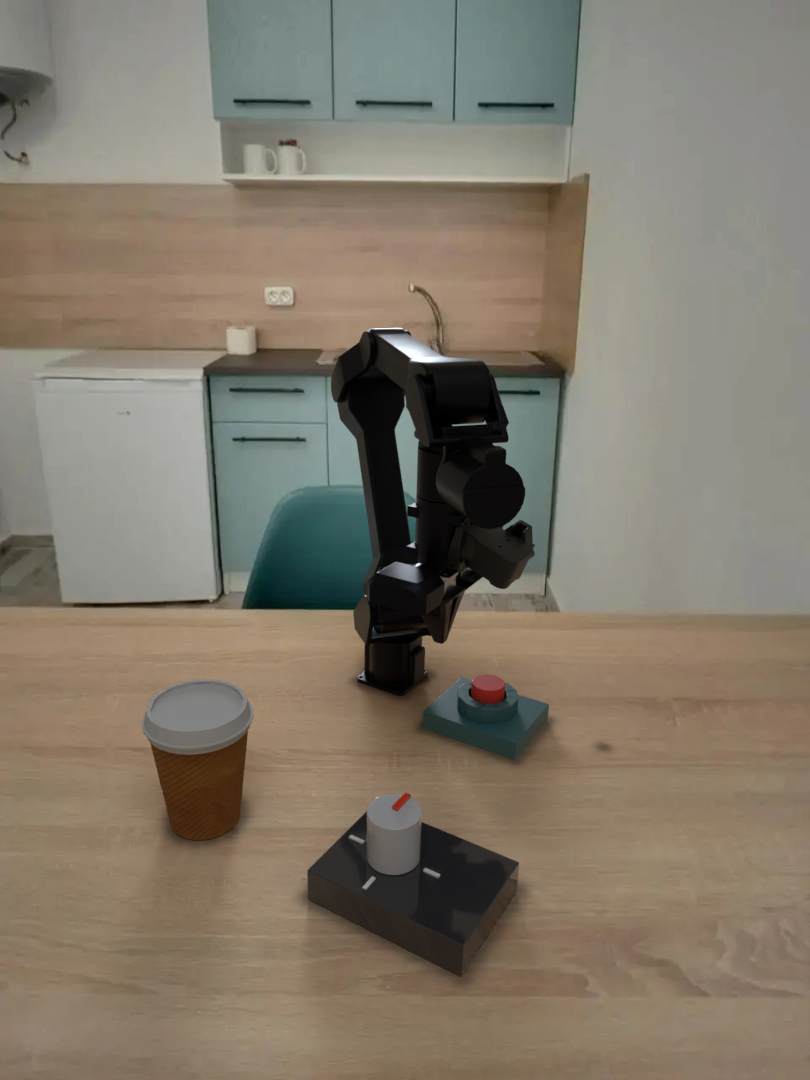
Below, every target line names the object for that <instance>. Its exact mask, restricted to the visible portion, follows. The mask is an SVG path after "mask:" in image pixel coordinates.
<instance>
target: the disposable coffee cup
mask: <svg viewBox="0 0 810 1080" xmlns="http://www.w3.org/2000/svg"><path fill="white" fill-rule="evenodd" d="M253 719H254V708H253V705H252V703H251V702H250V701H249V700H248V697H247V693H246V692H245V691H244V690H243V689H242V688H241V687H239V686H238V685H236V684H234V683H232V682H230V681H225V680H221V679H213V678H201V679H192V680H185V681H182V682H178V683H176V684H173V685H170V686H168V687H165V688H163V689H162V690H160V691H159V692H157V693H155V694H154V695H152V697H151V698H150V699H149V701H148V703H147V705H146V709H145V712H144V714H143V715H142V719H141V729H142V733H143V735H144V736H145V737H146V739H147V741H148V742H149V744H150V748H151V751H152V756H153V760H154V764H155V768H156V772H157V776H158V780H159V784H160V789H161V791H162V797H163V800H164V804H165V808H166V812H167V816H168V820H169V823H170V828H171V829H172V831H173V832H174V833H175V834H176V835H177V836H179V837H181V838H184V839H186V840H191V841H203V840H205V841H206V840H211V839H215V838H217V837H221V836H222V835H224V834H226V833H228V832H230V831H231V830H233V828H234V827H235V826H236V825H237V824H238V823H239V820H240V817H241V809H242V799H243V787H244V779H245V777H244V776H245V767H246V766H245V765H246V756H247V745H248V734H249V729H250V727H251V724H252V722H253Z"/></svg>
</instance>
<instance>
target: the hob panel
mask: <svg viewBox="0 0 810 1080" xmlns="http://www.w3.org/2000/svg"><path fill="white" fill-rule="evenodd" d="M366 847H367V810H366V811H365V812H364V813H363V814H362V815H361V816H360V817H359V818H358V819H357V820H356V821H355V822H354V823H353V824H352V825H351V826H350V827H349V828H348V829H347V830H346V831H345V832H344V833H343V834H342V835H341V836H340V837H339V838H338V839H337V840H336V841H335V842H334V843H333V844H332V845H331V846H330V847H329V848H328V849H327V850H326V851H325V852H324V853H323V854H322V855H321V856H320V857H319V858H318V859H317V860H316V861H315V862H314V863H313V864H312V865H311V866H310V867H309V868H308V869H307V870H306V872H307V900H308V901H310V902H312V903H314V904H316V905H318V906H320V907H322V908H324V909H326V910H328V911H330V912H332V913H334V914H336V915H338V916H340V917H342V918H344V919H346V920H348V921H350V922H352V923H354V924H357V925H358V926H360V927H362V928H364V929H365V930H368V931H370V932H372V933H374V934H376V935H378V936H379V937H382V938H384V939H386V940H387V941H389V942H392V943H393V944H396V945H397V946H399V947H402V948H403V949H405V950H407V951H409V952H412V953H413V954H416V955H417V956H419V957H421V958H423V959H425V960H427V961H429V962H431V963H433V964H434V965H437V966H439V967H441V968H443V969H444V970H447V971H449V972H451V973H453V974H455V975H457V976H459V977H462V976H463V975H464V974H465V972H466V970H467V969H468V967H469V966H470V964H471V962H472V961H473V960H474V958H475V956H476V955H477V953H478V952H479V950H480V948H481V947H482V946H483V944H484V943H485V941H486V939H487V938H488V936H489V935H490V933H491V932H492V930H493V929H494V927H495V925H496V924H497V922H498V921H499V919H500V918H501V916H502V914H503V913H504V912H505V911H506V908H507V907H508V905H509V904H510V902H511V901H512V899H513V897H514V896H515V894H516V893H517V891H518V880H519V868H520V862H519V861H517V860H515V859H512V858H511V857H508V856H505V855H503V854H500V853H497V852H495V851H493V850H490V849H488V848H485V847H484V846H482V845H479V844H476V843H474V842H471V841H469V840H466V839H464V838H463V837H459V836H457V835H455V834H452V833H450V832H447V831H445V830H442V829H440V828H437V827H436V826H432V825H430V824H428V823H425V822H423V821H422V823H421V850H420V861H419V863H418V865H417V866H416V867H415V868H414V869H413V870H411V871H410V872H407V873H405V874H401V875H386V874H382V873H380V872H378V871H376V870H374V869H373V868H372V867H371V866H370V865H369V863H368V861H367V857H366Z"/></svg>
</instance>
